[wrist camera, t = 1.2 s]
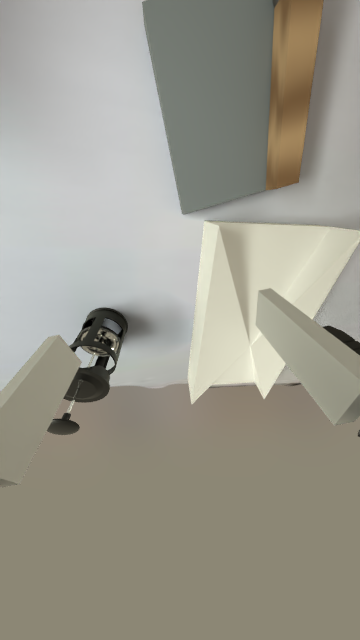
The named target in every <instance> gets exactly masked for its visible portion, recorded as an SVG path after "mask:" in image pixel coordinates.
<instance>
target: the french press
mask: <svg viewBox="0 0 360 640" xmlns="http://www.w3.org/2000/svg"><path fill="white" fill-rule="evenodd" d="M93 318H96V319H95V321H94V322H93V324H92V320H93ZM105 318H107V319H110V320H113V321H114V322H116V323H117V324H118V325H119V326H120V327H121V328H122V330H121V332H120V333H119V334H116V333H115V332H114V331H113V330H111V329H109V328H107V327H104V326H102V324H103V322H104V320H105ZM127 328H128V325H127V321H126V319H125V318H124V316H123V315H122V314H120V313H119V312H117V311H115V310H113V309H109V308H99V309H95V310H93V311H92V312H90V313H89V315H88V316H87V318H86V321H85V323H84V324H83V327H82V330H81V332H80V333H79V335H78V336H77V338H76V340H75V341H74V343H73V344H71V345H70V346H69V347H70V348H71V350H72V351H73V352H75V351H76V349H77V347H79V346H81V348H82V349H83V350H85V351H86V352H88V353H90V354H92V355H93V356H92V358H91V360H90V363H89V365H88V367H87V368H79V369H78V370H77V372H76V374H75V376H74V378H73V380H72V382H71V384H70V386H69V388H68V390H67V392H66V394H65V396H64V398H63V399H66V400H69V401H72V402H71V404H70V407H69V409H68V411H67V413H64V415H63V417H62V419H53V420H52V422H51V424H50V425H49V427H48V429H47V431H48V432H50V433H53V434H58V435H68V434H73V433H75V432H77V431H78V430H79V428H80V427H79V425H78V424H77V423H76V422H73V421H71V420H69V419H70V416H71V414H70V411H71V408H72V406H73V404H74V402H93V401H97V400H100V399H102V398H104V397H105V396H106V395H107V394H108V392H109V389H110V385H109V379H110V376H109V375H110V374H111V373H113V371H114V370H115V368H116V364H117V361H118V357H119V354H120V350H121V347H122V343H123V339H124V336H125V333H126V332H127ZM95 355H96V356H98V359H97V361H96V363H95V366H92V367H90V365H91V363H92V361H93V359H94V356H95ZM110 356H111V357H112V358H113V360H114V362H115V365H114V367H112V368H111V369H109V370H106V366H107V363H108V360H109V357H110Z"/></svg>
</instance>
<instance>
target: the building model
mask: <svg viewBox="0 0 360 640" xmlns="http://www.w3.org/2000/svg"><path fill="white" fill-rule="evenodd" d="M359 242H360V231H359V230H351V229H343V228H336V227H328V226H320V225H301V224H276V223H252V222H227V221H204V230H203V239H202V248H201V258H200V267H199V277H198V286H197V295H196V305H195V314H194V323H193V333H192V342H191V351H190V361H189V370H188V383H189V389H190V397H191V402H192V403H194V402H195V400H197V399H198V398H199V397H200V396H201V395H202V394H203V393H204V392H205V390H207V389H208V388H209V387H210V386H211V385H216V384H232V383H249V382H255V383H256V385H257V387H258V389H259V391H260V392H261V394H262V396H263V398H264V399H265V397H266V395H267V394H268V392H269V391H270V389H271V387H272V386H273V384H274V382H275V381H276V379H277V378H278V376H279V374H280V373H281V371H282V369H283V368H284V366H285V364H286V363H285V362H284V361H283V360H282V358H281V357H280V356H279V354H278V353H277V352H276V351H275V349H274V348H273V347H272V346H271V344H270V343H269V342H268V340H267V339H266V338H265V337H264V335H263V334H262V333H261V331H260V330H259V329H258V328H257V326H256V325H255V324H256V312H257V300H258V291H259V290H264V289H268V288H271V289H273V290H274V291H275V292H277V293H278V294H279V295H280V296H282V297H283V298H284V299H286V300H287V301H288V302H290V303H291V304H292V305H294V306H295V307H296V308H298V309H299V310H300V311H302V312H303V313H304V314H306V315H307V316H308V317H310V318H311V319H312V320H313V318H314V316H315V315H316V313H317V311H318V310H319V308H320V306H321V305H322V303H323V301H324V300H325V298H326V296H327V295H328V293H329V291H330V290H331V288H332V286H333V285H334V283H335V281H336V280H337V278H338V277H339V275H340V273H341V272H342V270H343V268H344V267H345V265H346V263H347V262H348V260H349V258H350V257H351V255H352V253H353V252H354V250H355V248H356V247H357V245H358V243H359Z"/></svg>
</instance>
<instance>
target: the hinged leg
mask: <svg viewBox="0 0 360 640" xmlns="http://www.w3.org/2000/svg"><path fill="white" fill-rule="evenodd" d="M323 1H324V0H273V5H274V27H273V48H272V68H271V89H270V110H269V131H268V152H267V172H266V190H271V189H278V188H281V187H284V186H288V185H291V184H294V183H298V182H299V176H300V168H301V161H302V154H303V147H304V139H305V132H306V125H307V117H308V110H309V103H310V96H311V88H312V81H313V74H314V67H315V59H316V52H317V45H318V38H319V30H320V23H321V16H322V9H323Z"/></svg>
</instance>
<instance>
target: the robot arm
mask: <svg viewBox="0 0 360 640" xmlns="http://www.w3.org/2000/svg"><path fill="white" fill-rule="evenodd" d="M255 325H256V326H257V328H258V329H259V330H260V331H261V333H262V334H263V335H264V337H265V338H266V339H267V340H268V342H269V343H270V344H271V346H272V347H273V348H274V349H275V351H276V352H277V353H278V354H279V356H280V357H281V358H282V360H283V361H284V362H285V363H286V365H287V366H288V367H289V368H290V370H291V371H292V372H293V374H294V375H295V376H296V377H297V379H298V380H299V381H300V382H301V384H302V385H303V386H304V388H305V389H306V390H307V391H308V393H309V394H310V395H311V396H312V398H313V399H314V400H315V401H316V403H317V404H318V405H319V407H320V408H321V409H322V410H323V412H324V413H325V414H326V416H327V417H328V418H329V419H330V420H331V422H332V423H333V424H334V425H339V424H345V423H350V422H354V421H355V420H356V419H357V418H358V417H359V416H360V343H359V342H358V341H355V339H353V338H352V337H350V336H349V335H348V334H346V333H345V332H343V331H341V330H338V329H336V328H334V327H331V326H325V327H321V326H320V325H319V324H317V323H316V322H315V321H313V320H312V319H311V318H310V317H308V316H307V315H306V314H304V313H303V312H302V311H300V310H299V309H298V308H296V307H295V306H294V305H292V304H291V303H290V302H288V301H287V300H286V299H284V298H283V297H282V296H280V295H279V294H278V293H277V292H275V291H274V290H273V289H271V288H268V289H264V290H259V291H258V300H257V312H256V324H255ZM81 363H82V362H81V361H80V359H79V358H78V357H77V356H76V355H75V353H74V352H73V351H72V350H71V348H70V347H69V346H68V345H67V344H66V342H65V341H64V340H63V339H62V338H61V336H60V335H56V336H51V337H48V338H47V339H46V340H45V341H44V343H43V344H42V345H41V346H40V347H39V348H38V350H37V351H36V352H35V353H34V354H33V355H32V357H31V358H30V359H29V360H28V361H27V362H26V363H25V365H24V366H23V367H22V368H21V369H20V370H19V372H18V373H17V374H16V375H15V376H14V377H13V379H12V380H11V381H10V382H9V383H8V384H7V386H6V387H5V388H4V389H3V390H2V391H1V393H0V487H6V486H11V485H17V484H20V482H21V480H22V478H23V477H24V474H25V473H26V470H27V468H28V467H29V465H30V463H31V461H32V459H33V457H34V455H35V453H36V451H37V449H38V447H39V445H40V443H41V441H42V439H43V437H44V435H45V433H46V431H47V429H48V427H49V425H50V424H51V422H52V420H53V418H54V416H55V414H56V412H57V410H58V408H59V406H60V404H61V402H62V400H63V398H64V396H65V394H66V392H67V390H68V388H69V386H70V384H71V382H72V380H73V378H74V376H75V374H76V372H77V370H78V369H79V367H80V365H81ZM358 436H359V437H360V430H359V432H358Z"/></svg>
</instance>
